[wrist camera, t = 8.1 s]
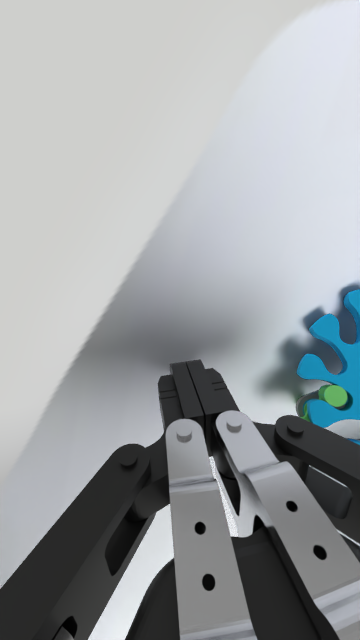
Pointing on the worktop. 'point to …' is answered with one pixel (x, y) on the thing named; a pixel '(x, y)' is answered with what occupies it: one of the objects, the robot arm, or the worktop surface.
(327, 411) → the gear
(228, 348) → the worktop surface
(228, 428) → the robot arm
